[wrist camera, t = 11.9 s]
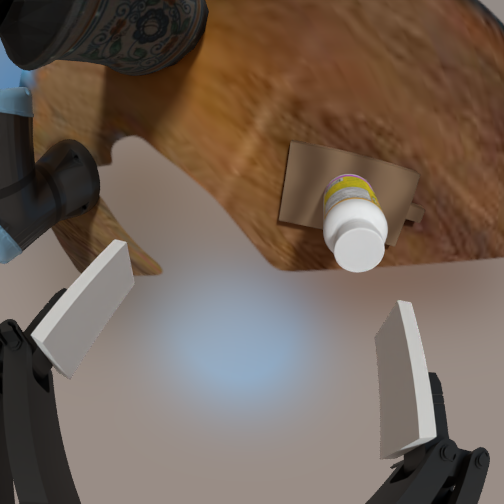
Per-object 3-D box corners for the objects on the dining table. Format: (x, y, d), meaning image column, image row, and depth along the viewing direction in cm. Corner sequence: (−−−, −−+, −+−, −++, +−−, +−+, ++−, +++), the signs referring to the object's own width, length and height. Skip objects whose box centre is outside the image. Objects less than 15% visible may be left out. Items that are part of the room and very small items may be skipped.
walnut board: (280, 215, 39) (278, 220, 38) (291, 139, 33) (290, 142, 31) (406, 244, 36) (408, 250, 35) (431, 176, 30) (435, 180, 29)
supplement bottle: (370, 222, 34) (385, 284, 24) (321, 217, 36) (319, 278, 26) (376, 174, 31) (402, 222, 20) (324, 169, 32) (325, 214, 22)
